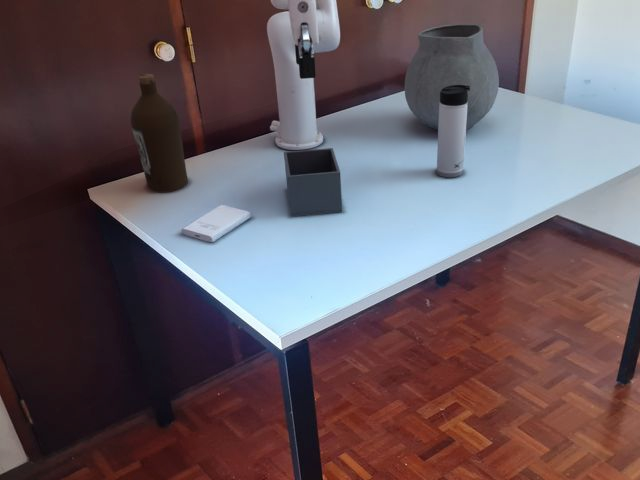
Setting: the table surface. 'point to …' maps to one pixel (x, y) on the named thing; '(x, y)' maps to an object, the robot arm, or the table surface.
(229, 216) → the hard drive
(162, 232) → the table surface
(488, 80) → the ceramic pot
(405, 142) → the table surface
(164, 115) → the olive oil
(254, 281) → the table surface
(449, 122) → the travel mug
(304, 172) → the grey drawer with handle
